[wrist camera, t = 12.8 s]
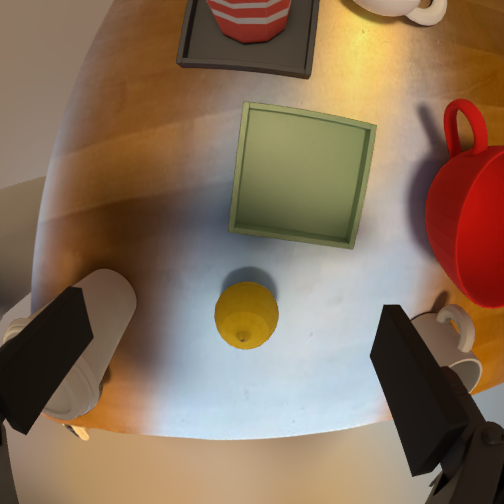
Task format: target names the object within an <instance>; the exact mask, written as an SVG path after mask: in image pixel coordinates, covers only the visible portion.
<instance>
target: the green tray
mask: <svg viewBox="0 0 504 504" xmlns="http://www.w3.org/2000/svg"><path fill="white" fill-rule="evenodd" d="M376 128H377V125H374V124H370V123H366V122H362V121H358V120H353V119H349V118H344V117H340V116H335V115H330V114H325V113H320V112H314V111H309V110H303V109H297V108H291V107H284V106H277V105H270V104H262V103H254V102H245V101H244V102H243V110H242V117H241V125H240V133H239V141H238V149H237V157H236V165H235V173H234V182H233V190H232V199H231V208H230V217H229V226H228V232H231V233H238V234H246V235H253V236H261V237H268V238H275V239H282V240H289V241H297V242H304V243H311V244H318V245H324V246H331V247H338V248H345V249H352V250H353V248H354V244H355V239H356V235H357V231H358V226H359V222H360V217H361V212H362V208H363V203H364V198H365V193H366V188H367V182H368V177H369V172H370V166H371V160H372V154H373V148H374V142H375V135H376Z"/></svg>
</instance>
